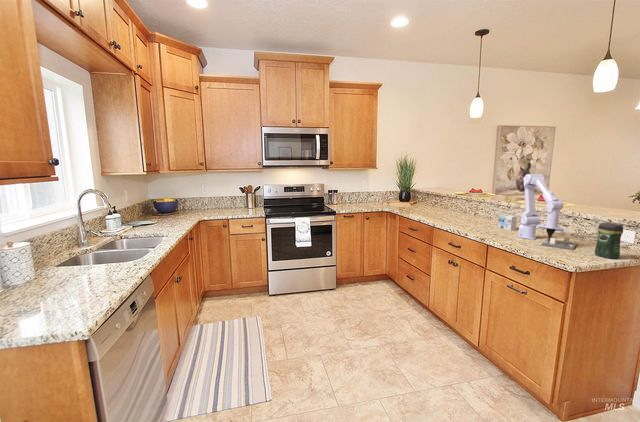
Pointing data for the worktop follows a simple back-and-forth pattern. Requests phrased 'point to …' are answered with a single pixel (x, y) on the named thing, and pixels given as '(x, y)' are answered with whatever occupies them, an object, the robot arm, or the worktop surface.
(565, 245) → the fader console
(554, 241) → the fader cap cream
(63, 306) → the worktop surface
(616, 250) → the coffee jar
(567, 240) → the cream slider knob
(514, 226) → the light bulb box
